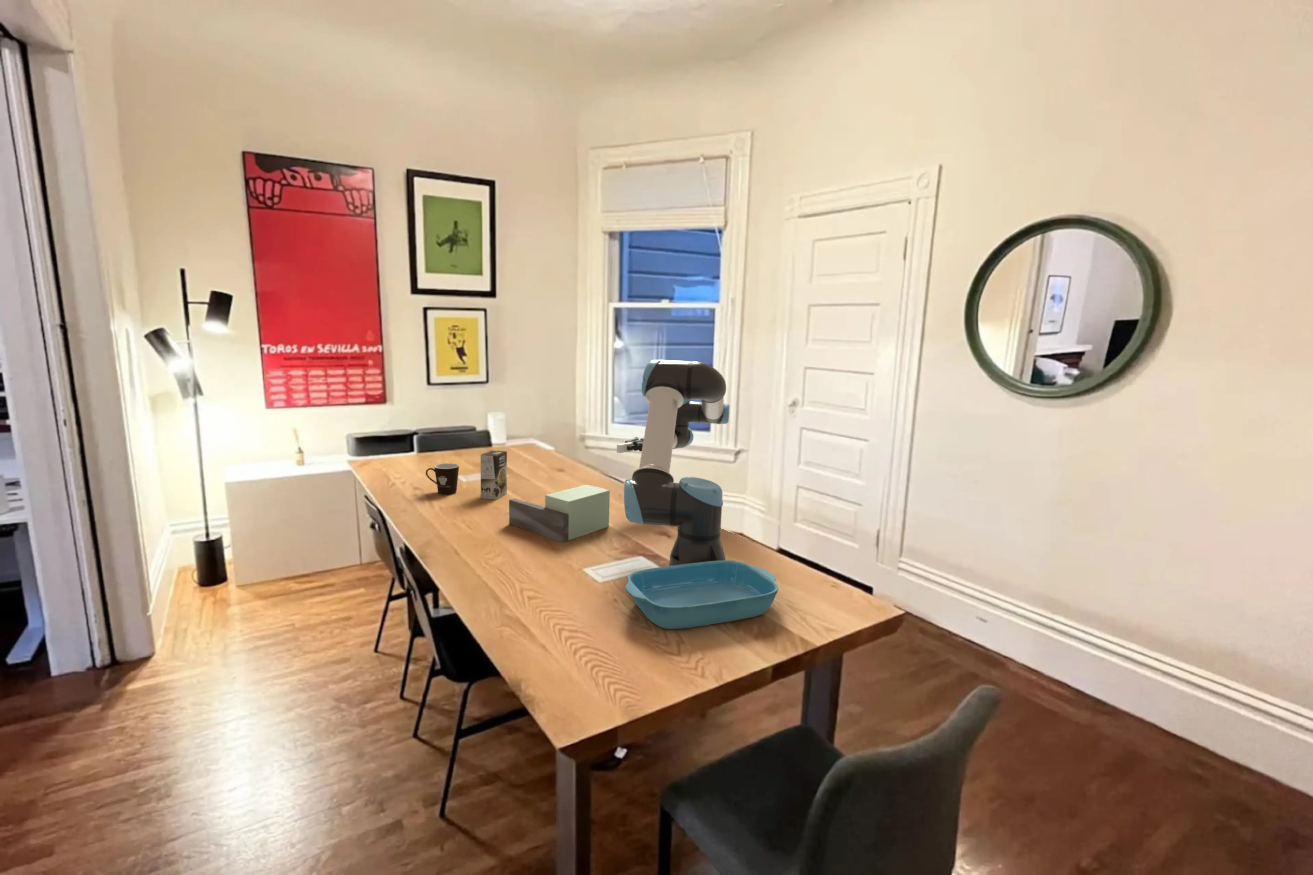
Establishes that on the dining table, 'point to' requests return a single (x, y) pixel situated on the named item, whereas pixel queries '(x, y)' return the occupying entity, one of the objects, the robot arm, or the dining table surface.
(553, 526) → the charcoal board
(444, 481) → the coffee mug
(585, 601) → the dining table surface
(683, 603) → the casserole dish
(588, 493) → the sage block
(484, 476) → the coffee box
